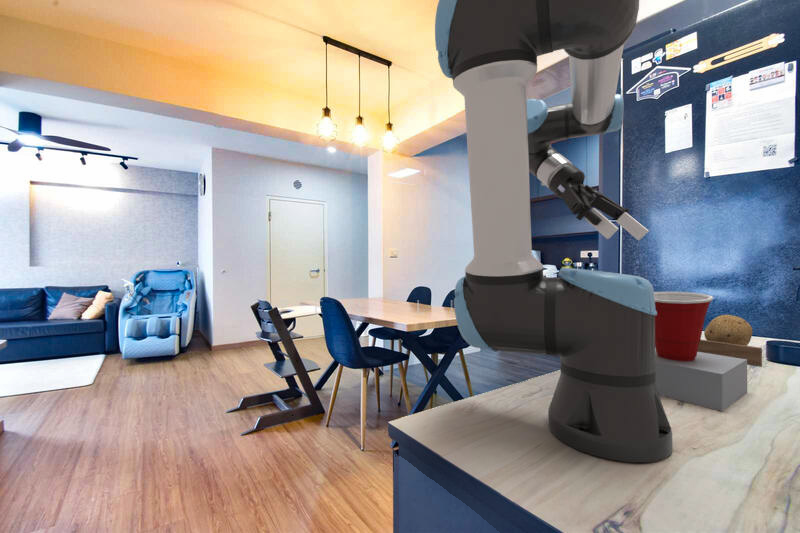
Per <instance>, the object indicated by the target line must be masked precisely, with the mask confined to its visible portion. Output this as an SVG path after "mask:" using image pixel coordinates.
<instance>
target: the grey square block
mask: <svg viewBox="0 0 800 533" xmlns="http://www.w3.org/2000/svg"><path fill="white" fill-rule="evenodd" d="M655 382H656V389H657V392H658V395H659V396H660V397H661V396H662V397H665V398H668V399H673V400H678V401H681V402H685V403H689V404H692V405H697V406H701V407H705V408H708V409H712V410H715V411H716V410H717V411H719V412H720V411H721V412H724V411H725V410H726V409H728V408H729V407H730V406H732V405H733V404H734V403H735V402H737V401H738V400H739V399H741V398H742V397H743V396H745V395H746V394H747V393H748V364H747V359H741V358H734V357H728V356H722V355H716V354H709V353H703V352H697V356H696V357H695V360H693V361H677V360H670V359H665V358H662V357H659V356H658V355H657V352H656V348H655Z"/></svg>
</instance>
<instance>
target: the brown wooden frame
mask: <svg viewBox="0 0 800 533" xmlns="http://www.w3.org/2000/svg"><path fill="white" fill-rule="evenodd" d="M697 352H703V353H709V354H716V355H722V356H728V357H734V358H741V359H747V365H751V366H754V367H755V366H756V367H762V366H763V348H762V347H759V346H751V345H747V346H745V345H737V344H730V343H723V342H715V341H708V340H706V339H700V342H699V346H698V351H697Z"/></svg>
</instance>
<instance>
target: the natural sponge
mask: <svg viewBox="0 0 800 533" xmlns="http://www.w3.org/2000/svg"><path fill="white" fill-rule="evenodd" d="M703 331H704V339H705V340H708V341H715V342H723V343H730V344H737V345H745V346H749V343H750V342H751V340H752V336H753V327H752V326H751V324H750V323H749V322H748V321H746V320H745V319H743V318H742V317H739V316H736V315H732V314H721V315H718V316H716V317H715V318H713V319H712V320H711V321H710V322H709V323H708V325H707V326H706V328H705V330H703Z"/></svg>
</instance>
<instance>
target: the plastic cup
mask: <svg viewBox="0 0 800 533" xmlns="http://www.w3.org/2000/svg"><path fill="white" fill-rule="evenodd" d="M654 298H655V309H656V311H657V315H655V348H656V352H657V355H658V356H659V357H662V358H665V359H670V360H677V361H693V360H695V357H696V356H697V351H698V346H699V342H700V339H701V338H702V334H703V331H704V324H705V320H706V315H707V314H708V309H709V306H710V305H711V302H712V301H713V300H714V297H713V296H712V295H709V294H705V293H699V292H687V291H654ZM701 340H702V339H701Z"/></svg>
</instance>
